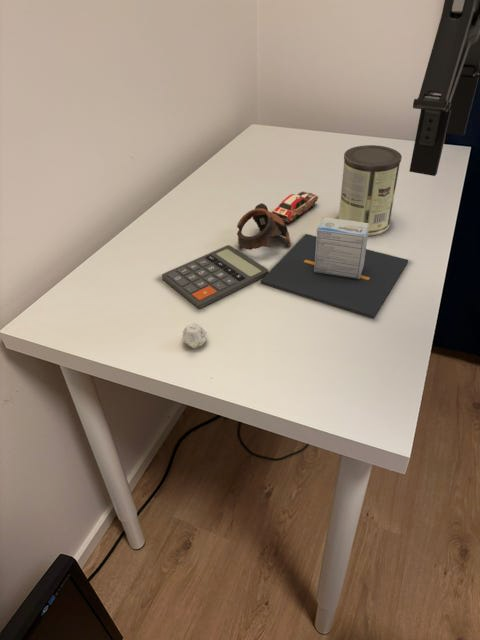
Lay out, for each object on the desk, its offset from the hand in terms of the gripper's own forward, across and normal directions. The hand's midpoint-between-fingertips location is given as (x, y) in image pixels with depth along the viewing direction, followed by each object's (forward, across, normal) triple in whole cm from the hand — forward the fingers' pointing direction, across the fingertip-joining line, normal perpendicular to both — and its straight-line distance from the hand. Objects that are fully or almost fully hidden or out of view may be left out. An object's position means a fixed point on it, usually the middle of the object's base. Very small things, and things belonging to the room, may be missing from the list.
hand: (438, 151), depth 56 cm
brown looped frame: (+27, +12, +30) cm, 42 cm away
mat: (+27, +9, +14) cm, 31 cm away
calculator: (+27, -2, +32) cm, 42 cm away
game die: (+27, -18, +25) cm, 41 cm away
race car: (+27, +26, +30) cm, 48 cm away
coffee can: (+27, +28, +16) cm, 42 cm away
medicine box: (+26, +9, +14) cm, 31 cm away
